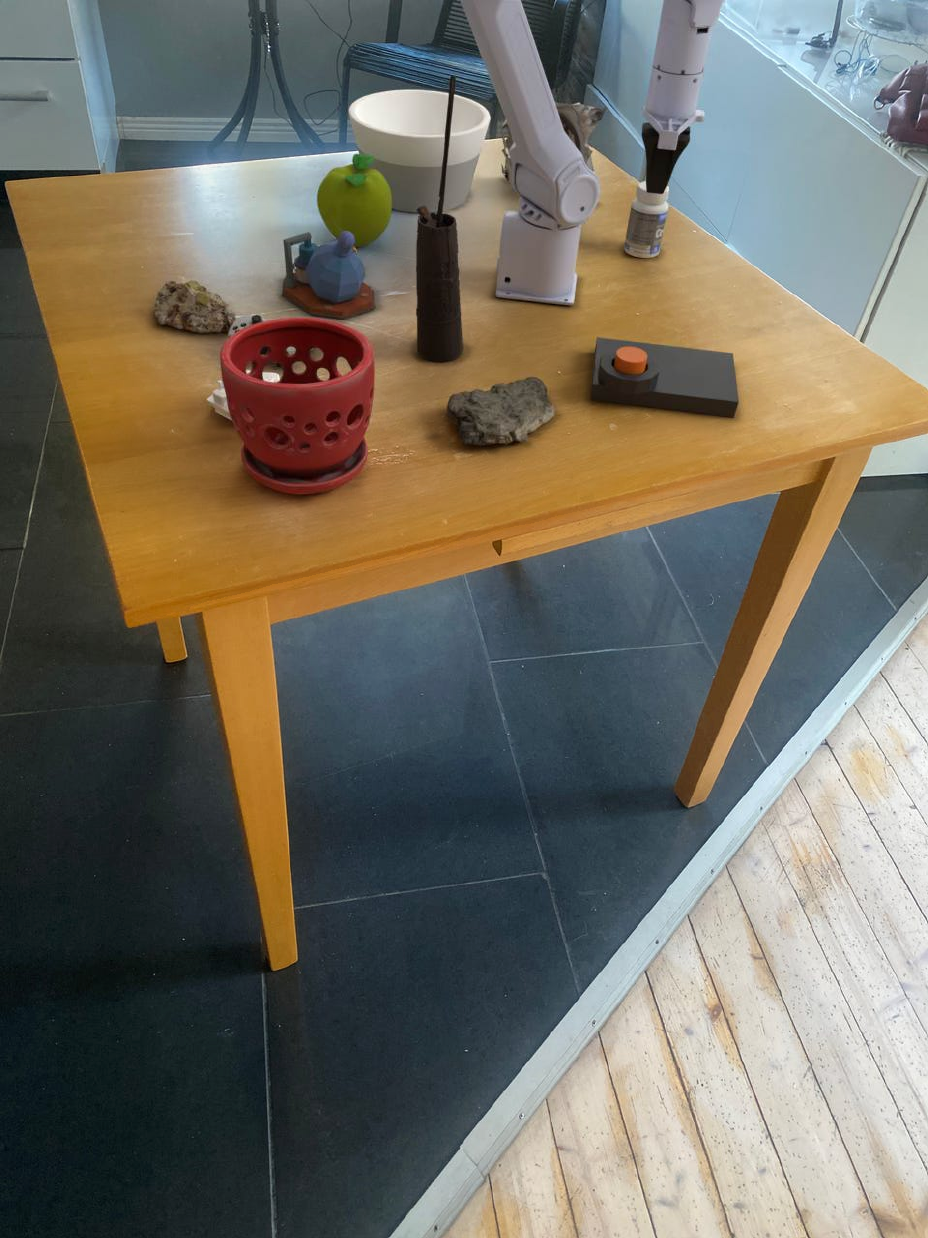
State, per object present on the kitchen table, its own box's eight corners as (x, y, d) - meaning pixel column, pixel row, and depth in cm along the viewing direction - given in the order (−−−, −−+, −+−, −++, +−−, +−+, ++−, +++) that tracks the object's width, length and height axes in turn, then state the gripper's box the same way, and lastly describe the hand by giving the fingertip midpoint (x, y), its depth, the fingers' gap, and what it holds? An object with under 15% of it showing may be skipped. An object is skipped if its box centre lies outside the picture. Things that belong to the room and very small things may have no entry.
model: (390, 302, 112) (390, 224, 105) (327, 326, 107) (323, 246, 101) (329, 265, 118) (325, 189, 111) (266, 286, 113) (259, 208, 107)
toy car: (202, 414, 94) (195, 377, 91) (261, 382, 99) (257, 345, 96) (235, 432, 92) (230, 395, 89) (294, 399, 97) (291, 362, 94)
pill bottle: (658, 261, 124) (671, 195, 118) (622, 256, 124) (633, 190, 118) (660, 246, 127) (673, 181, 121) (625, 241, 128) (636, 176, 122)
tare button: (613, 373, 97) (615, 360, 96) (614, 358, 100) (616, 344, 99) (644, 377, 97) (647, 364, 96) (644, 361, 99) (647, 348, 98)
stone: (529, 385, 101) (532, 361, 99) (578, 426, 96) (582, 402, 94) (416, 422, 95) (416, 397, 93) (461, 467, 90) (463, 442, 88)
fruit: (398, 231, 126) (398, 152, 119) (381, 261, 120) (380, 179, 112) (331, 222, 127) (328, 143, 120) (311, 252, 120) (306, 170, 113)
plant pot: (402, 477, 88) (403, 362, 80) (275, 524, 83) (262, 405, 74) (332, 409, 96) (326, 297, 87) (211, 449, 90) (192, 333, 81)
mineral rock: (128, 297, 105) (179, 255, 108) (143, 327, 109) (191, 286, 112) (197, 332, 101) (248, 288, 104) (210, 363, 105) (258, 319, 108)
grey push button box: (589, 405, 99) (594, 375, 96) (594, 352, 106) (599, 323, 104) (734, 423, 98) (743, 393, 95) (728, 368, 106) (736, 339, 103)
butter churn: (378, 332, 107) (374, 53, 87) (457, 321, 110) (471, 48, 90) (404, 373, 101) (406, 84, 81) (487, 360, 104) (508, 77, 84)
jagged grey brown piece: (598, 203, 136) (613, 104, 127) (583, 212, 134) (597, 111, 125) (511, 175, 142) (520, 78, 133) (495, 183, 140) (502, 85, 130)
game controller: (325, 335, 104) (305, 316, 98) (312, 383, 104) (291, 367, 98) (246, 317, 106) (222, 298, 100) (233, 364, 106) (209, 347, 100)
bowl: (334, 173, 139) (330, 93, 131) (456, 162, 145) (459, 84, 137) (375, 227, 127) (374, 142, 119) (506, 212, 132) (513, 130, 125)
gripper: (716, 90, 101) (688, 218, 111) (712, 52, 111) (687, 172, 121) (649, 84, 101) (628, 211, 111) (651, 46, 112) (631, 166, 121)
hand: (654, 191), depth 116 cm, fingers closed
